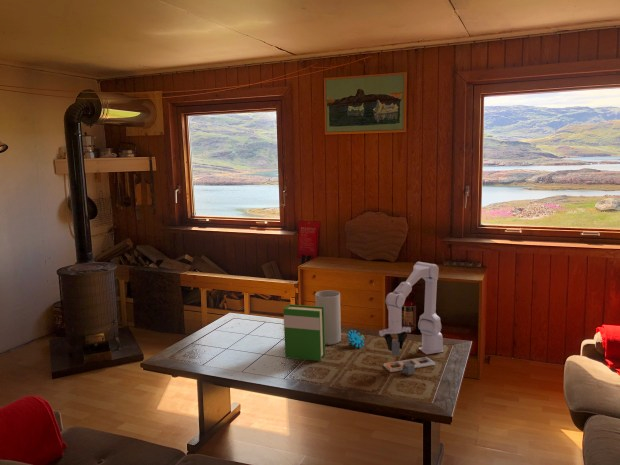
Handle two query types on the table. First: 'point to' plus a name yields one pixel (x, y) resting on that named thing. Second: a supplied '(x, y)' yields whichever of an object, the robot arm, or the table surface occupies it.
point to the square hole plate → (414, 361)
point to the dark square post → (395, 347)
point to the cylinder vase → (330, 315)
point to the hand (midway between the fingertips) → (395, 349)
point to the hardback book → (304, 332)
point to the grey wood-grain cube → (408, 368)
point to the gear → (355, 338)
